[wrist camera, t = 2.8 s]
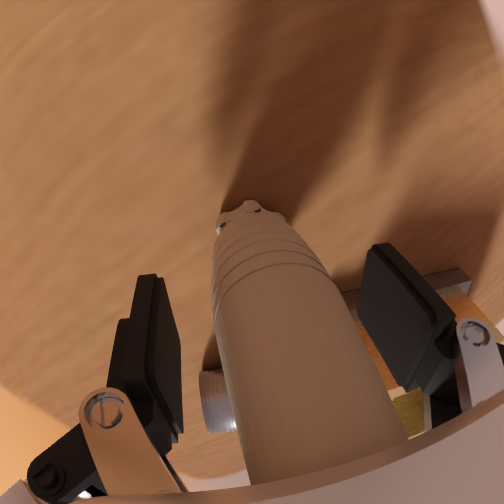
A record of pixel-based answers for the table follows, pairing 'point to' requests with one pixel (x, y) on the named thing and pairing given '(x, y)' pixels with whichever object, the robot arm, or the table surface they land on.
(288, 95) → the table surface
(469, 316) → the socket
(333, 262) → the table surface
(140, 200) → the table surface
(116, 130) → the table surface
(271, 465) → the handle
